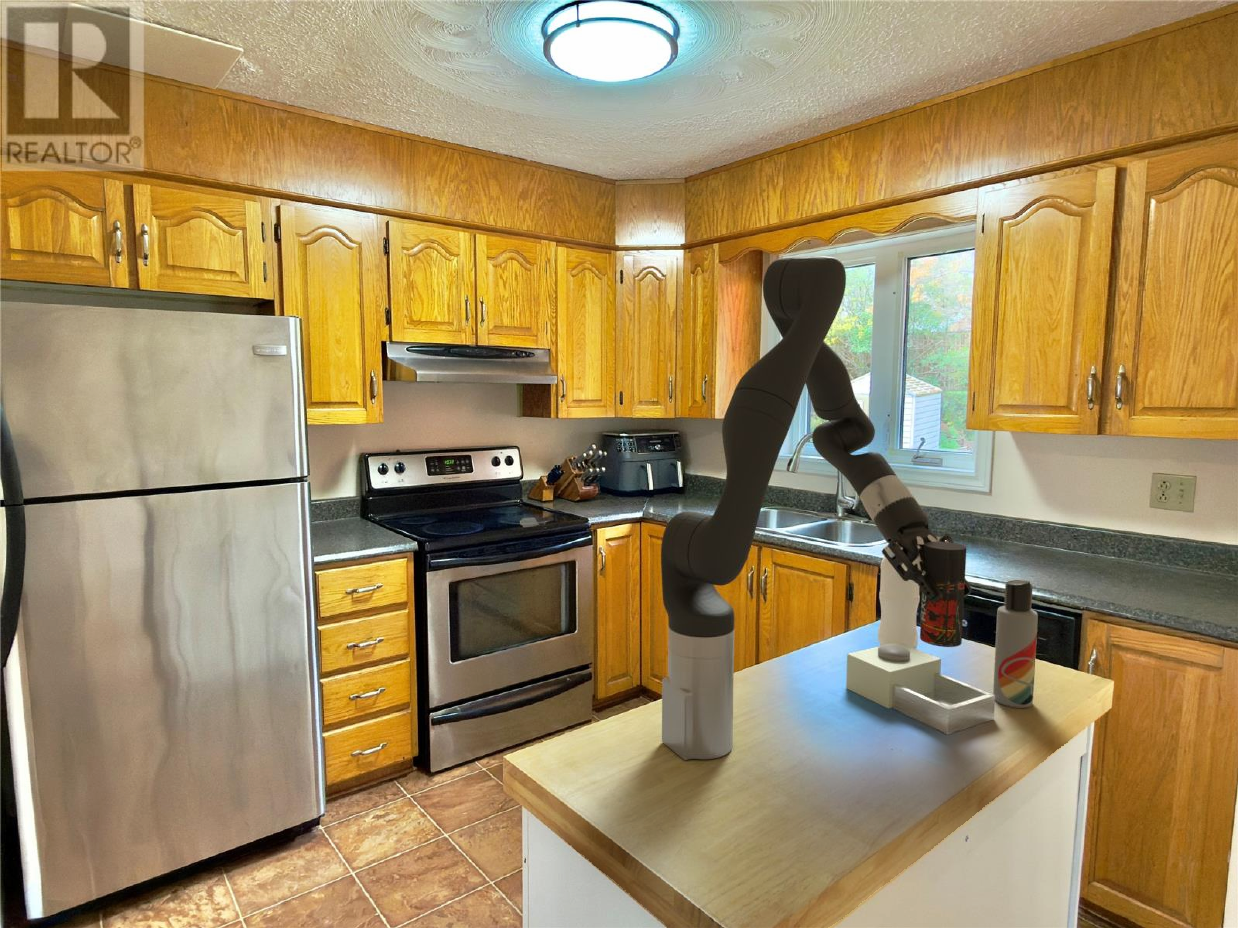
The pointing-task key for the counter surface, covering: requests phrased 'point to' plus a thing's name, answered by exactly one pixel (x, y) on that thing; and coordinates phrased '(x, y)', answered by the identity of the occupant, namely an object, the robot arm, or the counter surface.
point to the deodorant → (944, 594)
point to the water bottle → (897, 607)
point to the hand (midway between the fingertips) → (952, 597)
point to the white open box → (946, 704)
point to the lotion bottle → (1015, 647)
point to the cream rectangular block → (890, 671)
